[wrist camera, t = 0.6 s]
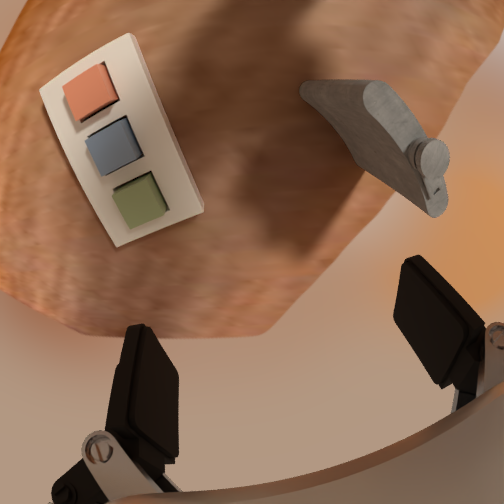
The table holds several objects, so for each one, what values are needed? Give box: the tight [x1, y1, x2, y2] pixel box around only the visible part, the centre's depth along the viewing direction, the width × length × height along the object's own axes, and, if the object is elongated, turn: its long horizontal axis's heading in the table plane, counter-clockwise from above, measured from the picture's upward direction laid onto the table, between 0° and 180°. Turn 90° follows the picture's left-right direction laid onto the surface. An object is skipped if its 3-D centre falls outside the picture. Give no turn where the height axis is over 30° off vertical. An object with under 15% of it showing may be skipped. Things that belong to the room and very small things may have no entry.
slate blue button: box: [85, 118, 142, 177], centre depth 30 cm, size 5×5×3 cm
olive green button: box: [112, 172, 167, 229], centre depth 35 cm, size 5×5×3 cm
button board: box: [39, 33, 204, 247], centre depth 32 cm, size 26×14×3 cm, turn 18°
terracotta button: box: [62, 64, 119, 121], centre depth 26 cm, size 5×5×3 cm
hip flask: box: [299, 80, 450, 218], centre depth 27 cm, size 16×4×20 cm, turn 44°
